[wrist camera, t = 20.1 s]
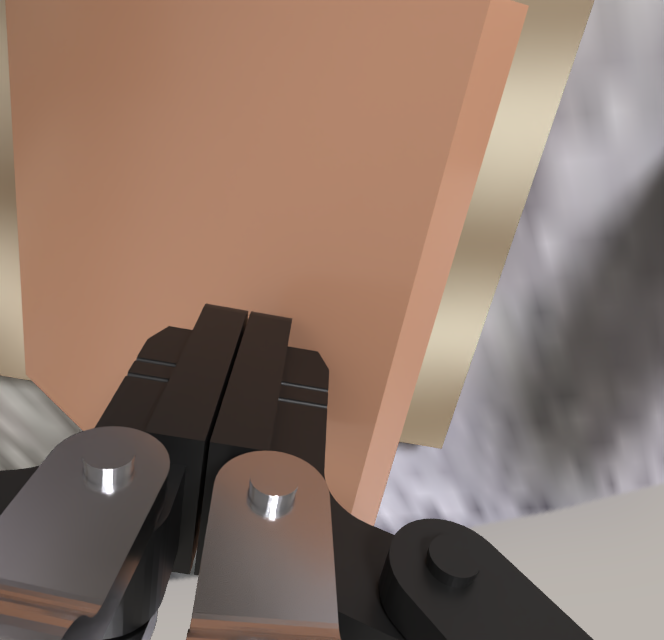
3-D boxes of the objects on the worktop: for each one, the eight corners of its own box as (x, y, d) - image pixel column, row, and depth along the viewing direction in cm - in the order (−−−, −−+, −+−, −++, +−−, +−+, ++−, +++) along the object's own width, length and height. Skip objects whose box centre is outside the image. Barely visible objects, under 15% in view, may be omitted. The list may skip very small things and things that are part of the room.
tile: (312, 656, 12) (348, 621, 13) (492, -6, 7) (534, 6, 8) (25, 374, 19) (62, 363, 19) (0, -92, 13) (52, -80, 14)
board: (-503, -246, 14) (-591, -272, 13) (577, -12, 16) (598, -13, 14) (-319, 294, 21) (-365, 314, 19) (436, 421, 22) (441, 448, 21)
